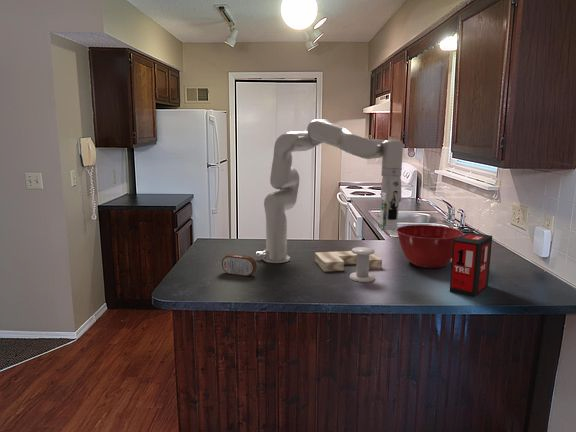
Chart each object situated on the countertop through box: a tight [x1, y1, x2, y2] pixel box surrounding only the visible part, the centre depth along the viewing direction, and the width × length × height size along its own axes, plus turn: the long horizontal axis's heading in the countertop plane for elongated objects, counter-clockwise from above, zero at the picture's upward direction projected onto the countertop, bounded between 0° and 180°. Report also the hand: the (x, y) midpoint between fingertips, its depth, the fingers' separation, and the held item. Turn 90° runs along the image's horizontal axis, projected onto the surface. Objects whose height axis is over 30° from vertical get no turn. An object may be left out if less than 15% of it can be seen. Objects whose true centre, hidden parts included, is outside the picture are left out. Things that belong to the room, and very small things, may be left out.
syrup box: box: [379, 193, 400, 231], centre depth 179 cm, size 6×6×14 cm
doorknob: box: [349, 246, 376, 283], centre depth 183 cm, size 10×10×12 cm
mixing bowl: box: [396, 224, 464, 269], centre depth 203 cm, size 28×28×15 cm
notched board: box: [314, 250, 383, 272], centre depth 202 cm, size 26×16×4 cm, turn 101°
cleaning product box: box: [449, 232, 493, 298], centre depth 171 cm, size 16×9×20 cm, turn 140°
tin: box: [221, 253, 258, 277], centre depth 187 cm, size 15×3×8 cm, turn 71°
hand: (388, 217), depth 179 cm, fingers closed on syrup box, 6 cm apart
